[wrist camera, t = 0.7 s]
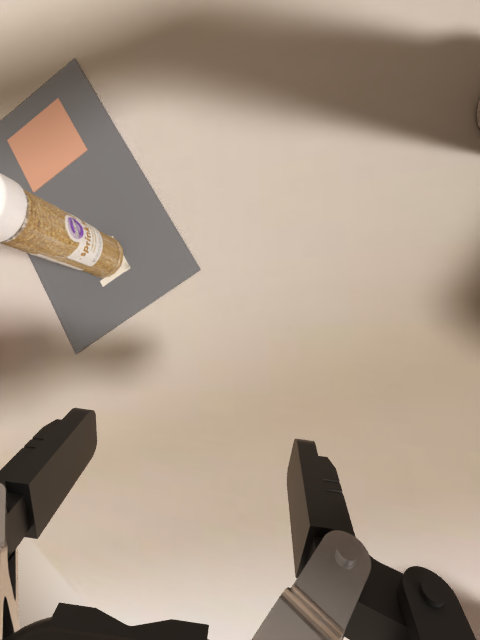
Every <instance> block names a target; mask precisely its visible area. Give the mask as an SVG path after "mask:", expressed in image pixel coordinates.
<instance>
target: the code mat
mask: <svg viewBox="0 0 480 640" xmlns="http://www.w3.org/2000/svg"><path fill="white" fill-rule="evenodd" d="M0 173H1V174H3V175H5V176H6V177H8V178H10V179H12V180H13V181H15V182H17V183H18V184H19V185H20V186H21V187H22V188H23V189H24V190H26V191H28V192H30V193H31V194H33V195H35V196H37V197H39V198H41V199H43V200H44V201H46V202H48V203H50V204H52V205H54V206H56V207H58V208H59V209H61V210H63V211H65V212H67V213H69V214H71V215H73V216H75V217H77V218H79V219H80V220H82V221H84V222H86V223H88V224H90V225H91V226H93V227H95V228H96V229H97V230H98V231H100V232H102V233H104V234H106V235H108V236H112V237H114V238H115V239H116V240H117V241H118V242H119V243H120V244H121V246H122V248H123V261H122V264H121V266H120V268H119V269H118V270H117V271H116V272H115V273H114V274H113V275H111V276H110V277H104V278H100V277H96V276H94V275H92V274H90V273H88V272H85V271H82V270H76V269H73V268H70V267H67V266H64V265H61V264H58V263H55V262H52V261H49V260H46V259H43V258H40V257H37V256H34V255H31V254H29V253H28V255H29V257H30V259H31V261H32V263H33V266H34V268H35V270H36V272H37V274H38V276H39V278H40V280H41V282H42V284H43V286H44V289H45V291H46V293H47V295H48V297H49V299H50V301H51V303H52V305H53V307H54V309H55V312H56V314H57V316H58V318H59V320H60V322H61V324H62V326H63V328H64V330H65V332H66V335H67V337H68V339H69V341H70V343H71V345H72V347H73V349H74V351H75V353H76V354H77V353H78V352H80V351H81V350H83V349H84V348H86V347H87V346H89V345H90V344H92V343H93V342H95V341H96V340H98V339H99V338H100V337H102V336H103V335H105V334H106V333H108V332H109V331H111V330H112V329H114V328H115V327H117V326H118V325H120V324H121V323H123V322H124V321H126V320H127V319H129V318H130V317H131V316H133V315H134V314H136V313H137V312H139V311H140V310H142V309H143V308H145V307H146V306H148V305H149V304H151V303H152V302H154V301H155V300H157V299H158V298H160V297H161V296H162V295H164V294H165V293H167V292H168V291H170V290H171V289H173V288H174V287H176V286H177V285H179V284H180V283H182V282H183V281H185V280H186V279H188V278H189V277H191V276H192V275H194V274H195V273H196V272H198V271H199V270H200V268H199V266H198V265H197V263H196V261H195V259H194V258H193V256H192V254H191V253H190V251H189V249H188V248H187V246H186V244H185V243H184V241H183V239H182V238H181V236H180V234H179V233H178V231H177V229H176V228H175V226H174V224H173V223H172V221H171V219H170V218H169V216H168V214H167V212H166V211H165V209H164V207H163V206H162V204H161V202H160V201H159V199H158V197H157V196H156V194H155V192H154V191H153V189H152V187H151V186H150V184H149V182H148V181H147V179H146V177H145V176H144V174H143V172H142V170H141V169H140V167H139V165H138V164H137V162H136V160H135V159H134V157H133V155H132V154H131V152H130V150H129V149H128V147H127V145H126V144H125V142H124V140H123V139H122V137H121V135H120V134H119V132H118V130H117V128H116V127H115V125H114V123H113V122H112V120H111V118H110V117H109V115H108V113H107V112H106V110H105V108H104V107H103V105H102V103H101V102H100V100H99V98H98V97H97V95H96V93H95V92H94V90H93V88H92V86H91V85H90V83H89V81H88V80H87V78H86V76H85V75H84V73H83V71H82V70H81V68H80V66H79V65H78V63H77V61H76V60H75V58H74V59H73V60H72V61H71V62H69V63H68V64H67V65H66V66H65V67H64V68H62V69H61V70H60V71H59V72H58V73H56V74H55V75H54V76H53V77H52V78H51V79H49V80H48V81H47V82H46V83H45V84H43V85H42V86H41V87H40V88H39V89H38V90H36V91H35V92H34V93H33V94H32V95H31V96H29V97H28V98H27V99H26V100H25V101H23V102H22V103H21V104H20V105H19V106H18V107H16V108H15V109H14V110H13V111H12V112H10V113H9V114H8V115H7V116H6V117H5V118H3V119H2V120H1V121H0Z"/></svg>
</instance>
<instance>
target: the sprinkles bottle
mask: <svg viewBox="0 0 480 640" xmlns="http://www.w3.org/2000/svg"><path fill="white" fill-rule="evenodd" d="M0 243H2V244H5V245H8V246H11V247H13V248H17V249H19V250H22V251H25V252H27V253H29V254H31V255H34V256H37V257H40V258H43V259H46V260H49V261H52V262H55V263H58V264H61V265H64V266H67V267H70V268H73V269H76V270H82V271H85V272H88V273H90V274H92V275H94V276H96V277H100V278H104V277H110V276H111V275H113V274H114V273H115V272H116V271H117V270H118V269H119V268H120V266H121V264H122V261H123V248H122V246H121V244H120V243H119V242H118V241H117V240H116V239H115V238H114V237H112V236H108V235H106V234H104V233H102V232H100V231H98V230H97V229H96V228H95V227H93V226H91V225H90V224H88V223H86V222H84V221H82V220H80V219H79V218H77V217H75V216H73V215H71V214H69V213H67V212H65V211H63V210H61V209H59V208H58V207H56V206H54V205H52V204H50V203H48V202H46V201H44V200H43V199H41V198H39V197H37V196H35V195H33V194H31V193H30V192H28V191H26V190H24V189H23V188H22V187H21V186H20V185H19V184H18V183H17V182H15V181H13V180H12V179H10V178H8V177H6V176H5V175H3V174H1V173H0Z"/></svg>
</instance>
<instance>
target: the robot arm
mask: <svg viewBox="0 0 480 640" xmlns="http://www.w3.org/2000/svg"><path fill="white" fill-rule="evenodd" d="M477 120H478V125H479V128H480V99H479V102H478V108H477ZM96 445H97V432H96V415H95V412H94V411H93V410H87V409H79V408H73V409H72V410H71V411H70V412H69V413H68V414H67V415H66V416H65V417H64V418H63V419H62V420H59V419H56V420H55V421H53V422H51V423H49V424H48V425H46V426H44V427H43V428H42V429H41V430H40V431H39V432H38V433H37V434H36V435H35V436H34V437H33V439H32V440H30V441H29V442H28V443H27V444H26V445H25V446H24V448H22V449H21V450H20V451H19V452H18V453H17V454H16V455H15V456H14V457H13V458H12V459H11V460H10V461H9V462H8V463H7V464H6V465H5V466H4V467H3V468H2V469H1V470H0V640H209V639H207V636H208V628H209V625H206V624H199V623H193V622H186V621H179V620H172V619H171V620H166V621H160V622H154V623H148V624H143V625H137V626H128V625H126V624H124V623H122V622H120V621H118V620H116V619H115V618H113V617H111V616H109V615H107V614H106V613H104V612H102V611H100V610H98V609H97V608H92V607H85V606H79V605H71V604H65V603H59V604H58V606H57V608H56V610H55V612H54V614H53V616H52V617H50V618H46V619H43V620H39V621H37V622H34V623H32V624H30V625H28V626H25V627H23V628H22V629H20V623H19V611H18V552H17V546H18V545H19V544H20V542H21V541H22V539H23V538H24V537H29V538H35V539H38V537H39V536H40V534H41V533H42V531H43V530H44V528H45V527H46V525H47V524H48V522H49V521H50V519H51V518H52V517H53V515H54V514H55V512H56V511H57V509H58V508H59V506H60V505H61V503H62V502H63V500H64V499H65V497H66V496H67V494H68V493H69V491H70V490H71V488H72V487H73V485H74V484H75V482H76V481H77V479H78V478H79V476H80V475H81V473H82V472H83V470H84V469H85V467H86V466H87V464H88V463H89V461H90V460H91V458H92V457H93V455H94V452H95V449H96ZM287 490H288V501H289V511H290V522H291V533H292V543H293V554H294V565H295V575H296V578H297V580H296V581H295V583H294V584H293V586H292V587H291V588H289V587H288V588H286V589H285V590H284V592H283V593H282V594H281V596H280V597H279V599H278V600H277V602H276V603H275V605H274V606H273V608H272V609H271V611H270V612H269V614H268V615H267V617H266V618H265V620H264V621H263V623H262V624H261V626H260V628H259V629H258V631H257V632H256V634H255V635H254V637H253V638H252V640H343V639H344V637H346V638H348V639H350V640H476V638H475V636H474V634H473V632H472V629H471V627H470V625H469V623H468V621H467V618H466V616H465V614H464V612H463V610H462V607H461V605H460V603H459V601H458V599H457V597H456V595H455V593H454V592H453V590H452V589H451V588H450V587H449V585H448V584H447V583H446V582H445V581H444V580H443V579H442V578H441V577H439V576H438V575H437V574H435V573H434V572H432V571H430V570H428V569H426V568H423V567H418V566H413V567H410V568H408V569H407V570H406V571H405V572H404V574H403V573H401V572H399V571H396V570H394V569H392V568H390V567H388V566H386V565H384V564H382V563H380V562H378V561H376V560H375V559H373V558H372V557H371V556H370V555H369V554H368V551H367V550H366V548H365V547H364V545H363V544H362V543H361V542H360V541H359V540H358V539H357V538H356V537H355V534H354V531H353V527H352V524H351V520H350V517H349V513H348V510H347V506H346V503H345V499H344V496H343V494H342V489H341V485H340V483H339V478H338V475H337V471H336V468H335V467H334V466H333V464H332V463H331V462H330V460H329V459H328V457H322V456H318V453H317V449H316V445H315V442H314V441H308V440H301V439H295V440H294V443H293V448H292V452H291V457H290V462H289V466H288V472H287Z"/></svg>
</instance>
